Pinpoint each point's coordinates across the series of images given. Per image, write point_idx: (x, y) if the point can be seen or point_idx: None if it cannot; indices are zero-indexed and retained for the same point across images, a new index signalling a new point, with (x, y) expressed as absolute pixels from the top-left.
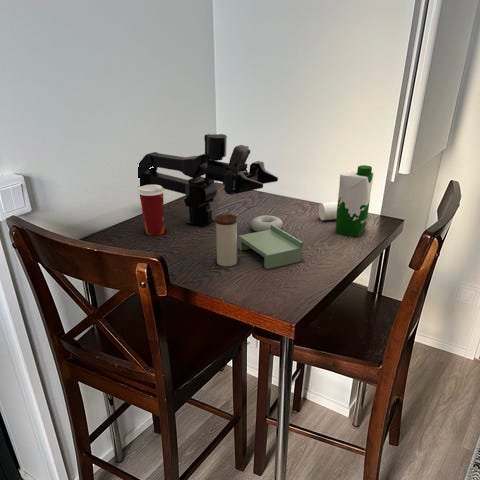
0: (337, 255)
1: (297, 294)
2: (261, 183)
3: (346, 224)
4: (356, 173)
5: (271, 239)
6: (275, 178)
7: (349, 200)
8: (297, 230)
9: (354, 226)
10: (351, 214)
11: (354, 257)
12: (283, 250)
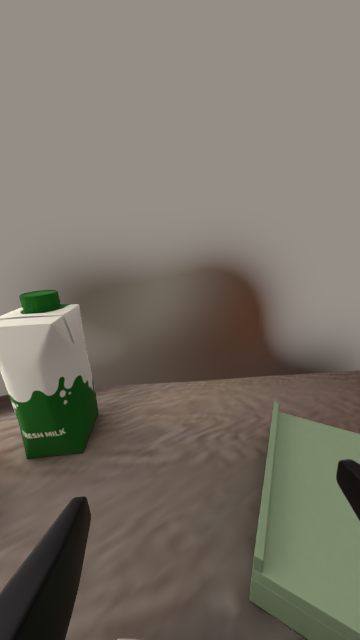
0: (198, 405)
1: (351, 389)
2: (356, 467)
3: (91, 411)
4: (39, 312)
5: (319, 495)
6: (81, 522)
7: (84, 363)
8: (81, 576)
9: (96, 400)
10: (91, 385)
11: (188, 388)
12: (325, 428)
